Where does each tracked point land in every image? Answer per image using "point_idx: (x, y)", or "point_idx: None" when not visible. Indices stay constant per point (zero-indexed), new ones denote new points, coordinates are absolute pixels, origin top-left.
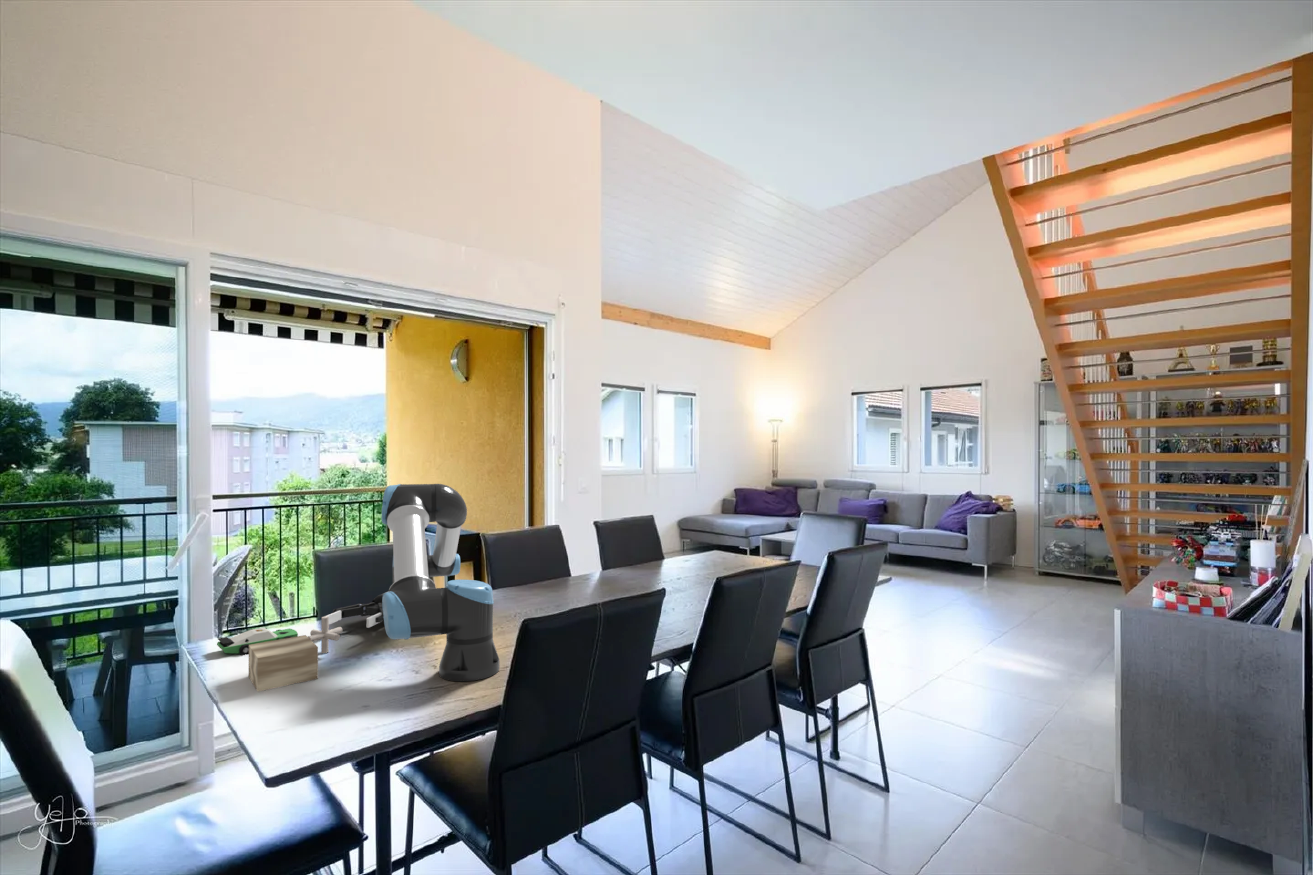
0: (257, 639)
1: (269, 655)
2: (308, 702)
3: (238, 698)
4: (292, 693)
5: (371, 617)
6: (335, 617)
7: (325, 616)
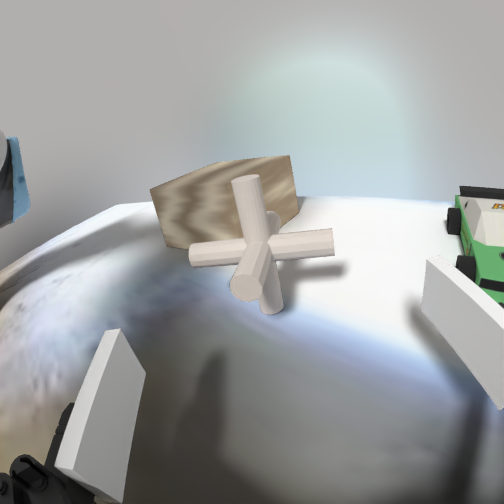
0: (468, 215)
1: (207, 166)
2: (139, 226)
3: None
4: None
5: (97, 352)
6: (472, 337)
7: (252, 179)
